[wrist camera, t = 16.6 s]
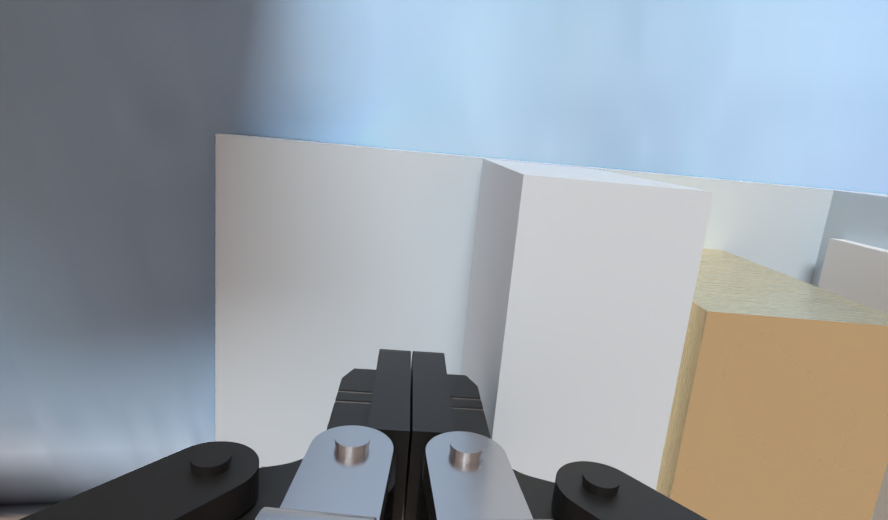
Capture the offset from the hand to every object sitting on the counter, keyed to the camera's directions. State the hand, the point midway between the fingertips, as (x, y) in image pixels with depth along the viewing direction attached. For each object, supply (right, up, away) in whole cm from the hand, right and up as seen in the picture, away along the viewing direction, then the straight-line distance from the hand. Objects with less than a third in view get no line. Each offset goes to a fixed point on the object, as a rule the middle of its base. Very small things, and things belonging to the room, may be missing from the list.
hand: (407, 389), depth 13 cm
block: (+8, 0, +7) cm, 10 cm away
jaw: (+1, 0, +6) cm, 6 cm away
